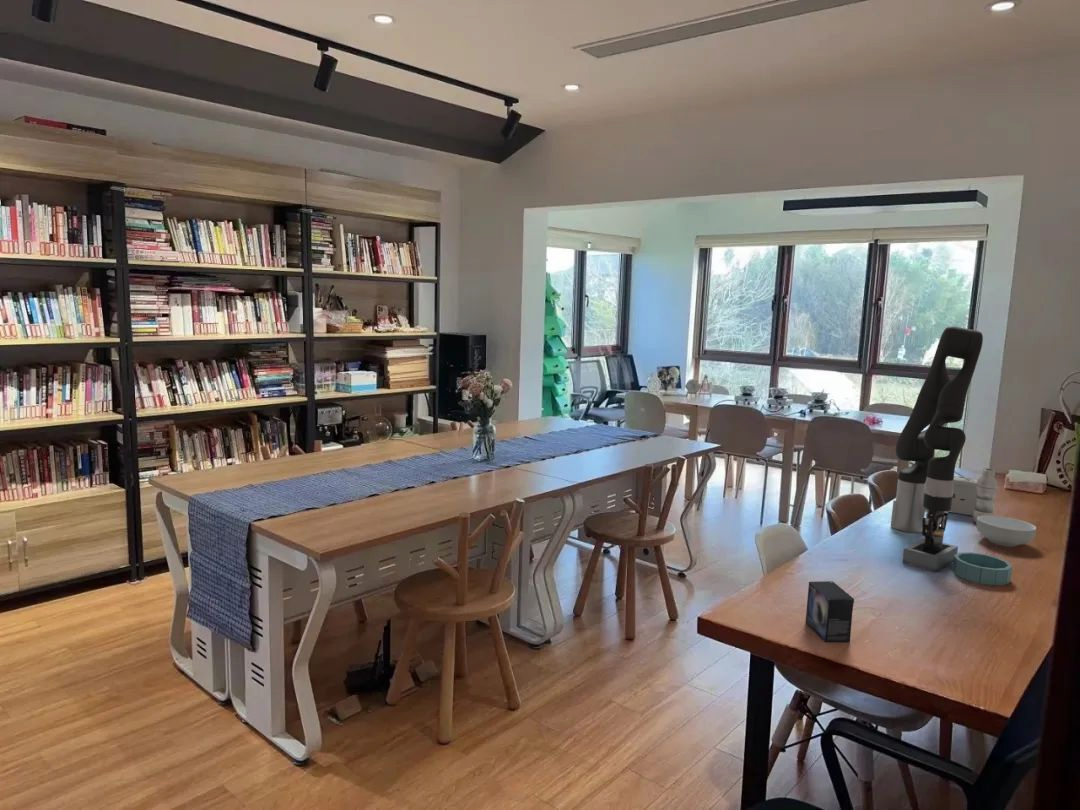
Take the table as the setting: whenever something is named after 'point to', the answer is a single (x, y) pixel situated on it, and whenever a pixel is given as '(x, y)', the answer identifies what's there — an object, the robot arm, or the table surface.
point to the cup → (982, 568)
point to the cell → (935, 542)
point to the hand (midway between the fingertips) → (932, 547)
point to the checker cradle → (929, 556)
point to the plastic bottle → (985, 494)
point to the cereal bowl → (1005, 530)
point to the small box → (829, 611)
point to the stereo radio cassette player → (964, 495)
